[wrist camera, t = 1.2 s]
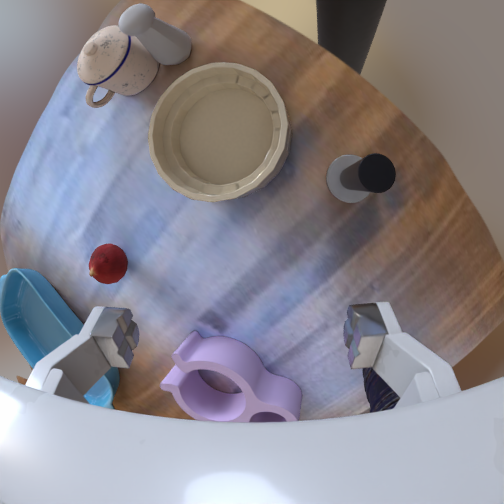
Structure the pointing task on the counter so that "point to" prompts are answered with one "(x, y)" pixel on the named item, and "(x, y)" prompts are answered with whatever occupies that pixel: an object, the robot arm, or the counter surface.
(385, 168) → the black tall cylinder post
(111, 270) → the onion
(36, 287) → the casserole dish
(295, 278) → the counter surface
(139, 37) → the salt shaker
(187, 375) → the clip
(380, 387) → the oil drum
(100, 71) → the teacup with lid
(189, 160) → the bowl
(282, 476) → the robot arm
